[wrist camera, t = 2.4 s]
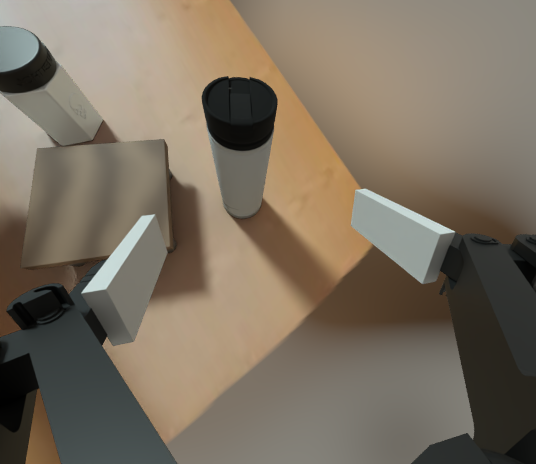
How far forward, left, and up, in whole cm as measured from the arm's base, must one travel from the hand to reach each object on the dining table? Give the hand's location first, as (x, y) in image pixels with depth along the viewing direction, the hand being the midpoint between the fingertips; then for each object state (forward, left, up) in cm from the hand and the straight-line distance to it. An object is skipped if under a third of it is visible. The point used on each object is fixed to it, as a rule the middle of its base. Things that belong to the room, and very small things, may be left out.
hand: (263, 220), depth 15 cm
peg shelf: (-18, +11, -20) cm, 29 cm away
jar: (-26, +29, -20) cm, 44 cm away
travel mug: (0, +11, -20) cm, 23 cm away
